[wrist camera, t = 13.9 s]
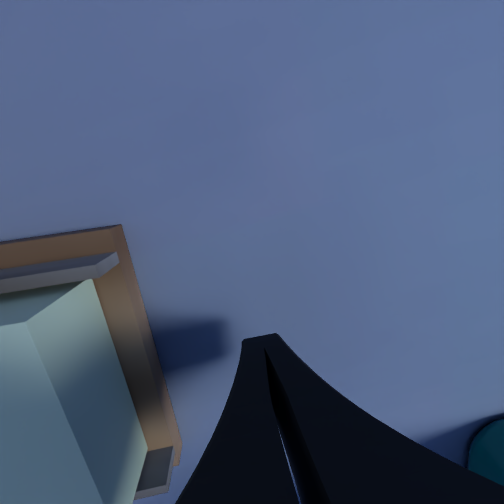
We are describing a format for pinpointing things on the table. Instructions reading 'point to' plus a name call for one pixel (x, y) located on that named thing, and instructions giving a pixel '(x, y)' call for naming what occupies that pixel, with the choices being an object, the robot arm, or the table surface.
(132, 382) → the press bed
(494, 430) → the pitcher
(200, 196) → the table surface
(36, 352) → the grey flat block
